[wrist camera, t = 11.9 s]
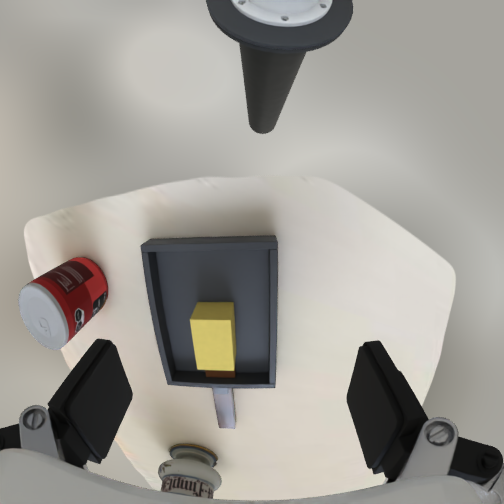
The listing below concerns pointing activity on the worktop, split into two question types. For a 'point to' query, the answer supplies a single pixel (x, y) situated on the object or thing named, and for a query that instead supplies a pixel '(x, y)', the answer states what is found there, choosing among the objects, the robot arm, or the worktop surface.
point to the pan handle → (225, 407)
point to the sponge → (214, 335)
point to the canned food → (63, 301)
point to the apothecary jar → (190, 472)
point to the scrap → (221, 373)
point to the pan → (214, 290)
